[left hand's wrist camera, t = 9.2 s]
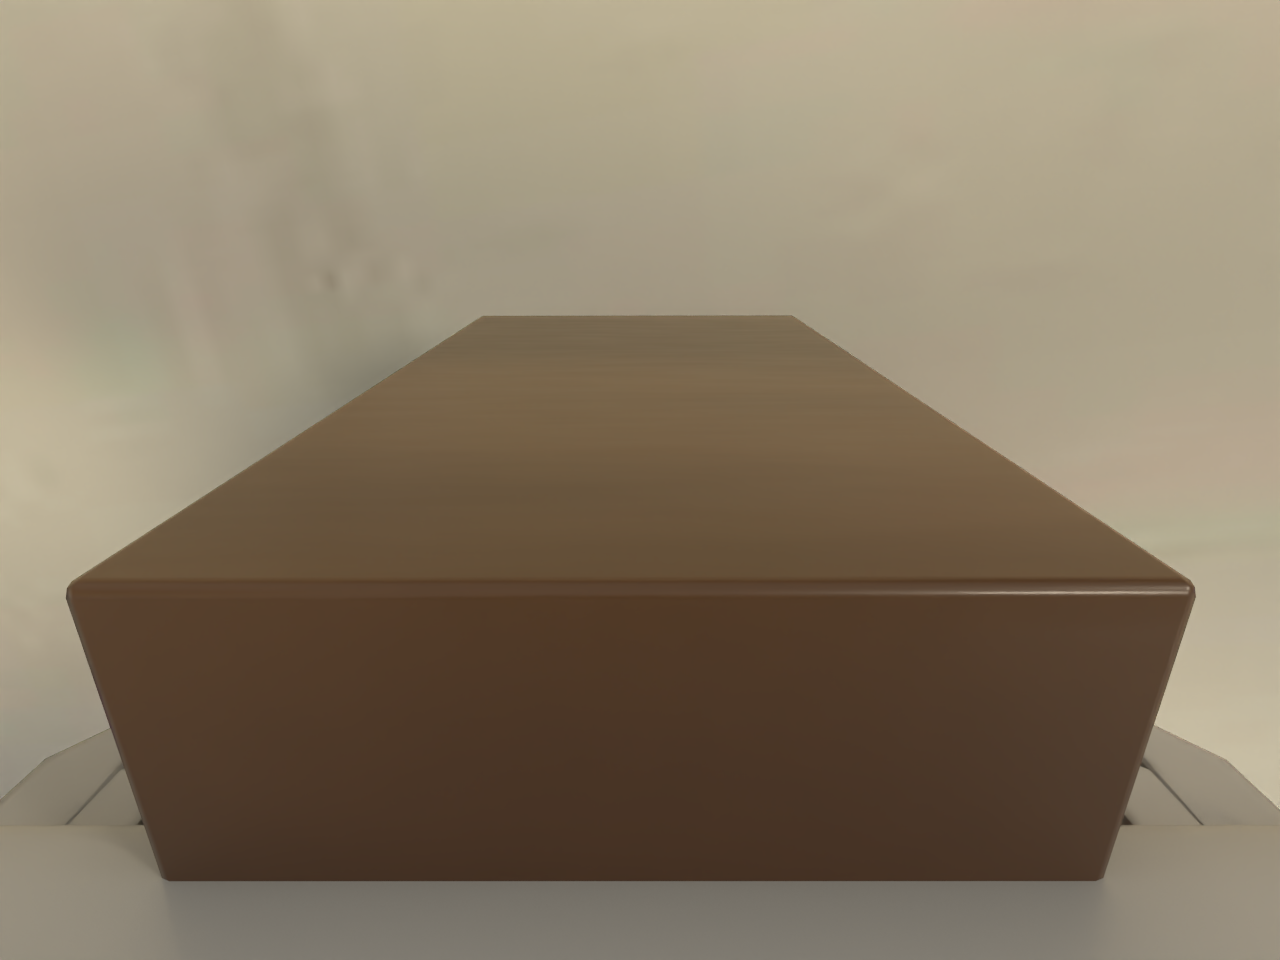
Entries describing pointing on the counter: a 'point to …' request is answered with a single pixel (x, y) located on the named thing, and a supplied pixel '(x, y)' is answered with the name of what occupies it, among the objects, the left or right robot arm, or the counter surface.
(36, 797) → the left robot arm
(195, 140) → the counter surface
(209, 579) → the box
